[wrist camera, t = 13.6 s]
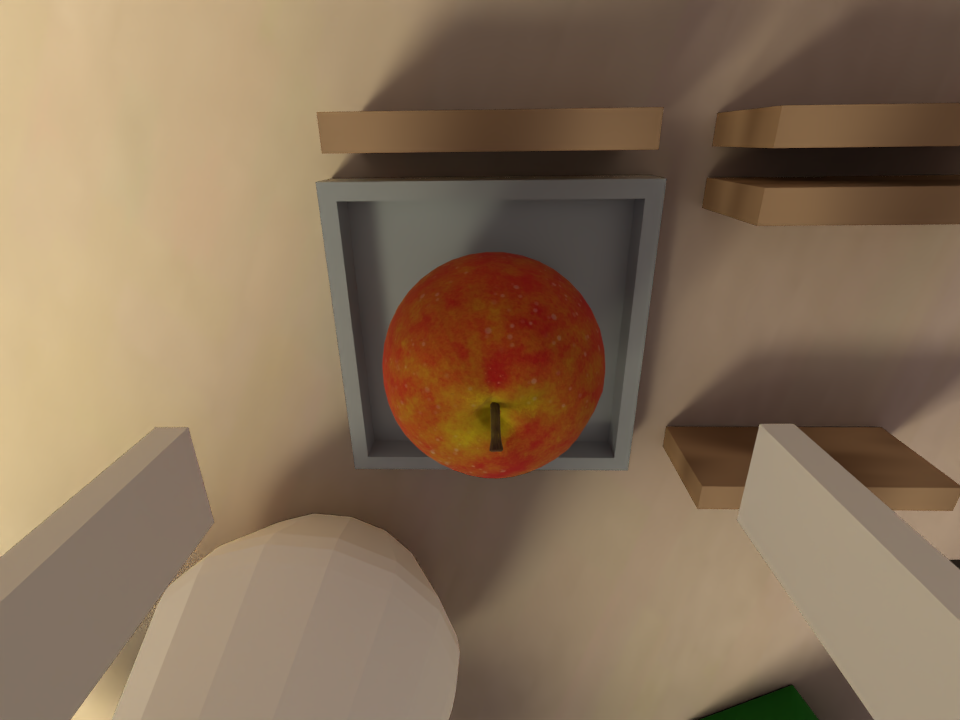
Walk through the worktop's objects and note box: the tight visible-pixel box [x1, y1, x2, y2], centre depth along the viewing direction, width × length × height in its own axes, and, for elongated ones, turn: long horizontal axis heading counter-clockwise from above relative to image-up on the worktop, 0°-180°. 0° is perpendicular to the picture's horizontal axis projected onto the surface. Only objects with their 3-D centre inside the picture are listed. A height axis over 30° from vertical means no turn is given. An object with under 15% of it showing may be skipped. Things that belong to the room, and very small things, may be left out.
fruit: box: [382, 252, 605, 478], centre depth 15 cm, size 7×7×8 cm
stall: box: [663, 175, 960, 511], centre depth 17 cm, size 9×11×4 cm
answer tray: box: [316, 175, 667, 470], centre depth 19 cm, size 11×11×2 cm
